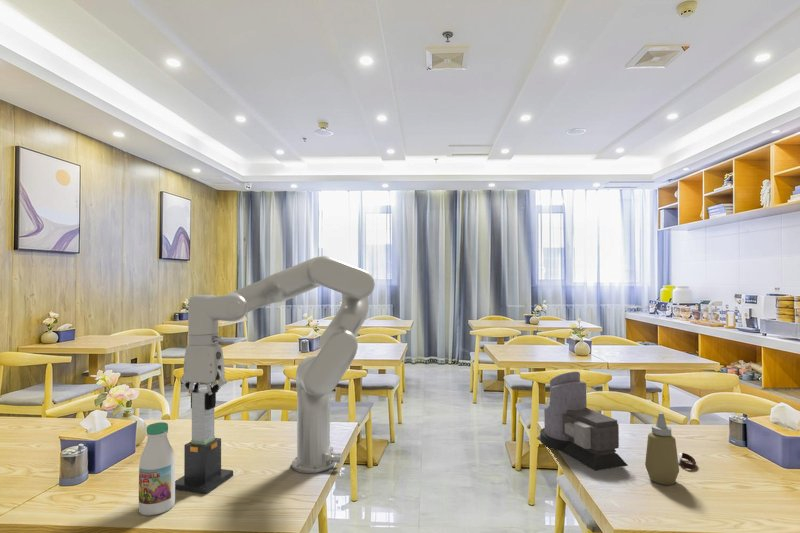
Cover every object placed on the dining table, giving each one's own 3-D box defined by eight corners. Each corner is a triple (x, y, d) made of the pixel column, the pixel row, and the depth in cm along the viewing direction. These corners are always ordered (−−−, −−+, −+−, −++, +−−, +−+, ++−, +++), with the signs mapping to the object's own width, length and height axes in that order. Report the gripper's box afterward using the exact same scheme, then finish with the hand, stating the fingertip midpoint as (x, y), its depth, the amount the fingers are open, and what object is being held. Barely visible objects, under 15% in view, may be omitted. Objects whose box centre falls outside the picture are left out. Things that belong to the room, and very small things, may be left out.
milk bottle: (147, 500, 113) (148, 420, 113) (180, 499, 113) (180, 419, 113) (132, 517, 105) (132, 430, 105) (166, 515, 105) (167, 429, 106)
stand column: (214, 452, 124) (214, 389, 124) (204, 458, 120) (204, 393, 120) (201, 450, 125) (201, 388, 125) (191, 456, 121) (191, 392, 121)
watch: (676, 459, 137) (676, 447, 137) (695, 462, 134) (695, 450, 134) (677, 468, 130) (677, 456, 130) (697, 472, 128) (696, 459, 128)
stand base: (233, 475, 126) (233, 436, 126) (206, 494, 116) (206, 451, 116) (199, 471, 129) (199, 432, 129) (170, 489, 118) (171, 447, 119)
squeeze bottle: (667, 490, 117) (666, 420, 117) (638, 477, 124) (637, 411, 124) (686, 483, 120) (685, 415, 121) (656, 471, 128) (656, 407, 128)
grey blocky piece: (528, 436, 156) (527, 365, 157) (567, 431, 161) (566, 362, 162) (588, 472, 128) (587, 385, 128) (634, 464, 132) (633, 381, 133)
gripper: (238, 339, 124) (238, 406, 124) (187, 337, 129) (187, 402, 128) (221, 343, 117) (220, 414, 117) (167, 341, 122) (167, 409, 121)
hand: (203, 407), depth 123 cm, fingers closed on stand column, 4 cm apart
